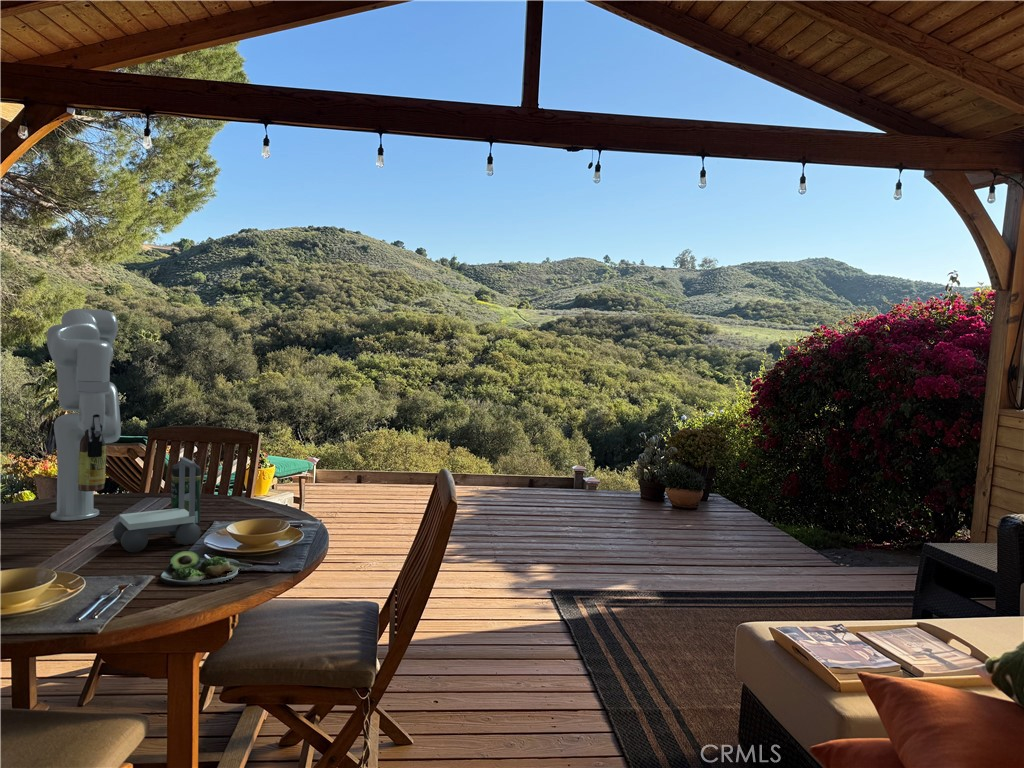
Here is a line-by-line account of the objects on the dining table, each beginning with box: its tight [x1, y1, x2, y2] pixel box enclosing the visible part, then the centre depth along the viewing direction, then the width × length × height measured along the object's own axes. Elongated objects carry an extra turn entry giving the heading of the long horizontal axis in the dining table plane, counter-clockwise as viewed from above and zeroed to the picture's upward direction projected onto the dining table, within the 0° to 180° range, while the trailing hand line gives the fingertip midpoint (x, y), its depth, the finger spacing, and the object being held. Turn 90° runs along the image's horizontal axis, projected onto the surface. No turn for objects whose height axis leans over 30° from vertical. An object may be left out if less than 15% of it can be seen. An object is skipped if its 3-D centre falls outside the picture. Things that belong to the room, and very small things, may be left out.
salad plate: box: [159, 550, 253, 587], centre depth 166 cm, size 19×18×5 cm
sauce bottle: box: [78, 425, 107, 492], centre depth 185 cm, size 7×6×20 cm
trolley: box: [112, 456, 202, 554], centre depth 188 cm, size 12×19×22 cm, turn 130°
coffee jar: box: [170, 461, 202, 525], centre depth 209 cm, size 10×8×19 cm
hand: (92, 454), depth 185 cm, fingers closed on sauce bottle, 6 cm apart
